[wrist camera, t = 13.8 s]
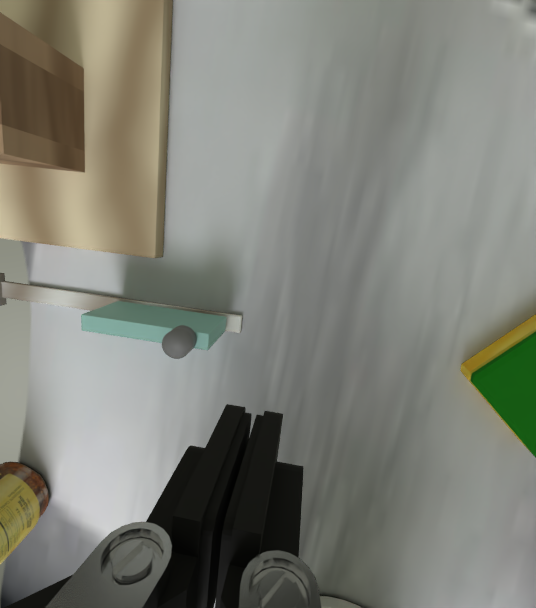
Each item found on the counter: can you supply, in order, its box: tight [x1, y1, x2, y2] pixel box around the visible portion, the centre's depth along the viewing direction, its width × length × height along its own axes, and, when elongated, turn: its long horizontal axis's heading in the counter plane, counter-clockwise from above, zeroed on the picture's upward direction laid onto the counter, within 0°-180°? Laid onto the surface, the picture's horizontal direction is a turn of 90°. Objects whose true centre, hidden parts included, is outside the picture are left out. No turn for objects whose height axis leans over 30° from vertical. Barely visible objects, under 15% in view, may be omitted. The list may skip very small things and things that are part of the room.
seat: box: [0, 0, 242, 333], centre depth 22 cm, size 22×21×4 cm
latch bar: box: [81, 301, 227, 359], centre depth 22 cm, size 8×2×5 cm, turn 84°
